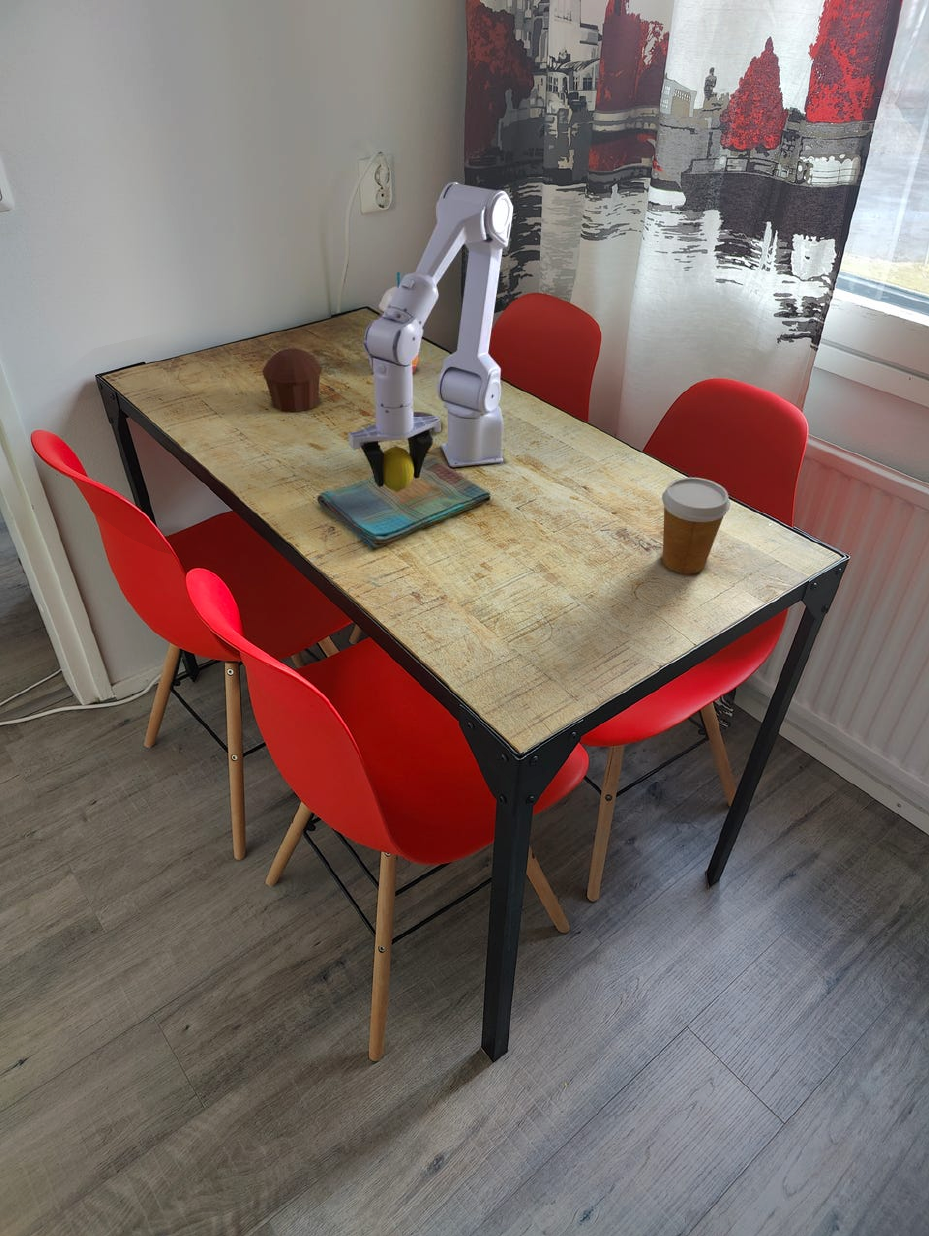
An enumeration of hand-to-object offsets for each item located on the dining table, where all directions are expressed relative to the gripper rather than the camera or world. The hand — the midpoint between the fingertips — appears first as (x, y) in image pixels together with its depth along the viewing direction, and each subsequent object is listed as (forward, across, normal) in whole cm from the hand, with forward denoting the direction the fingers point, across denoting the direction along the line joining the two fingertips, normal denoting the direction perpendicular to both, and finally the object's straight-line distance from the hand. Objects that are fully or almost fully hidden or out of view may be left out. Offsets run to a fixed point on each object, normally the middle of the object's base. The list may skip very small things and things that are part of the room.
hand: (397, 479), depth 144 cm
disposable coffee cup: (+5, -32, +33) cm, 47 cm away
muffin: (+5, +3, -44) cm, 44 cm away
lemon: (+2, 0, 0) cm, 2 cm away
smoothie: (+5, -22, -49) cm, 54 cm away
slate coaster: (+5, -14, -24) cm, 29 cm away
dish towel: (+5, -1, 0) cm, 5 cm away
